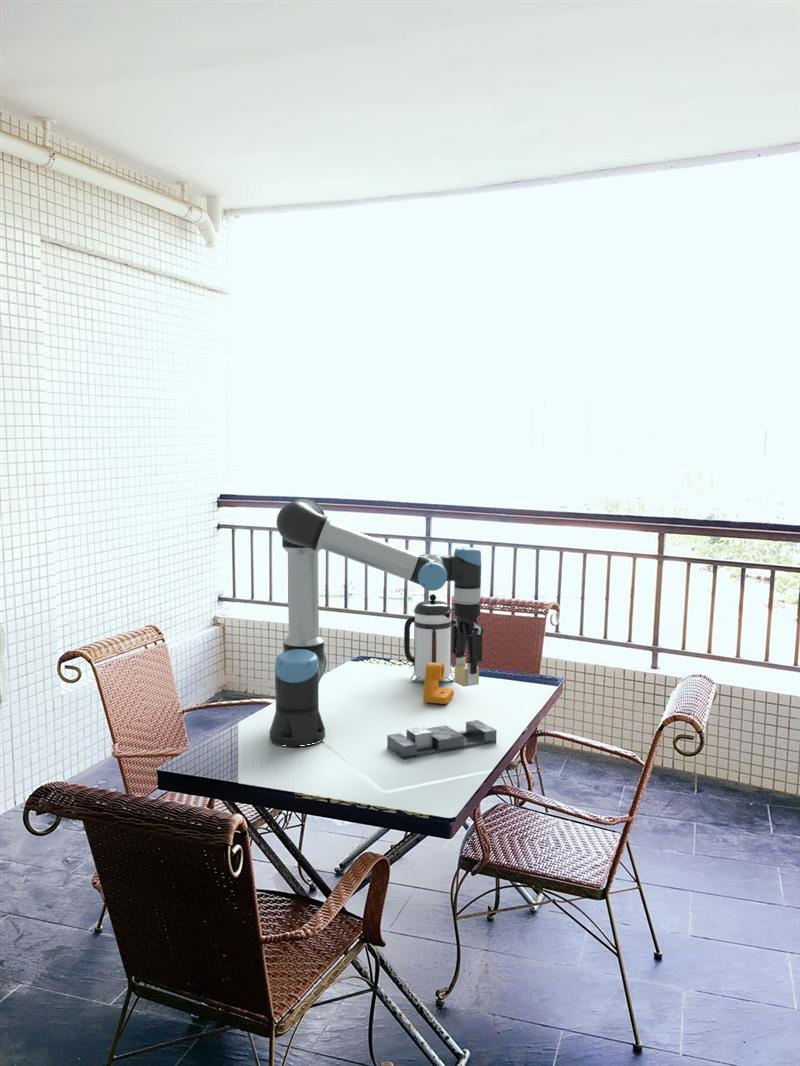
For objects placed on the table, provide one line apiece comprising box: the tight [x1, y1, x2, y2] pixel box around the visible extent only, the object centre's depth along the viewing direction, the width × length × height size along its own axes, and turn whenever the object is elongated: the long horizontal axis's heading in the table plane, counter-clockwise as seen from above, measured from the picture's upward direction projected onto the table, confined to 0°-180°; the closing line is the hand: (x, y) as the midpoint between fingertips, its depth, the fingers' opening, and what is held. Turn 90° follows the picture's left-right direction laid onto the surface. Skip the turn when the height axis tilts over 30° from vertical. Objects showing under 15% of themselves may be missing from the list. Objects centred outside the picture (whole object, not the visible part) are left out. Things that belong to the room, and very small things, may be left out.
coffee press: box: [403, 593, 455, 682], centre depth 292 cm, size 17×16×30 cm
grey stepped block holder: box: [386, 719, 498, 760], centre depth 230 cm, size 28×10×4 cm, turn 117°
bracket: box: [422, 662, 455, 705], centre depth 271 cm, size 11×7×12 cm, turn 162°
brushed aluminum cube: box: [405, 726, 432, 752], centre depth 226 cm, size 5×5×5 cm
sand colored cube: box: [454, 663, 480, 687], centre depth 247 cm, size 5×5×5 cm
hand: (466, 681), depth 247 cm, fingers closed on sand colored cube, 5 cm apart
